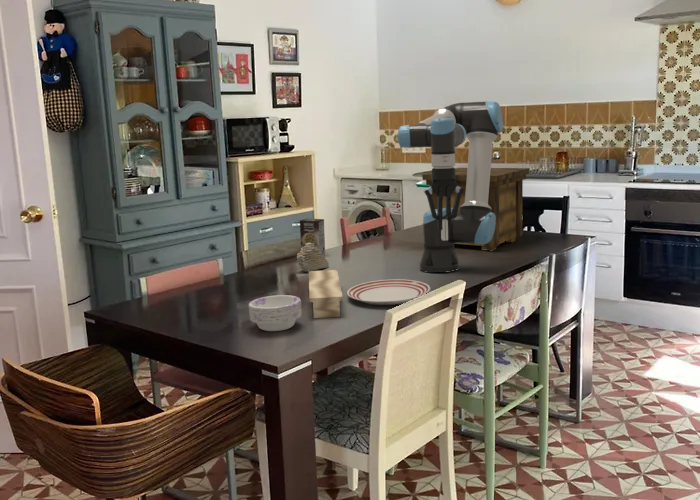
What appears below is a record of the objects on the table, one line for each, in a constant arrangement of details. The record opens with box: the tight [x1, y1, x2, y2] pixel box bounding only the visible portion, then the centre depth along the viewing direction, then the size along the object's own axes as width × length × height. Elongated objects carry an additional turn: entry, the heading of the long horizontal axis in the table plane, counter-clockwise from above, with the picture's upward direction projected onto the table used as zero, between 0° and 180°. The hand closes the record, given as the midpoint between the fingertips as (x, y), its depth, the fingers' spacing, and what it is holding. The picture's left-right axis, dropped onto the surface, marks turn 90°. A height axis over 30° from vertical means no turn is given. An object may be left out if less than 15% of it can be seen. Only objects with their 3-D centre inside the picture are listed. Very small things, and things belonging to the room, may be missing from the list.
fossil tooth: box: [296, 243, 330, 273], centre depth 274 cm, size 12×6×15 cm
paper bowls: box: [248, 294, 303, 332], centre depth 202 cm, size 15×15×8 cm
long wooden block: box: [308, 269, 344, 319], centre depth 227 cm, size 10×37×6 cm, turn 4°
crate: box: [421, 167, 531, 250], centre depth 310 cm, size 35×35×33 cm
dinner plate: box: [346, 278, 431, 306], centre depth 229 cm, size 27×27×3 cm
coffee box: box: [299, 218, 326, 257], centre depth 301 cm, size 9×6×16 cm
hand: (444, 239), depth 227 cm, fingers closed
